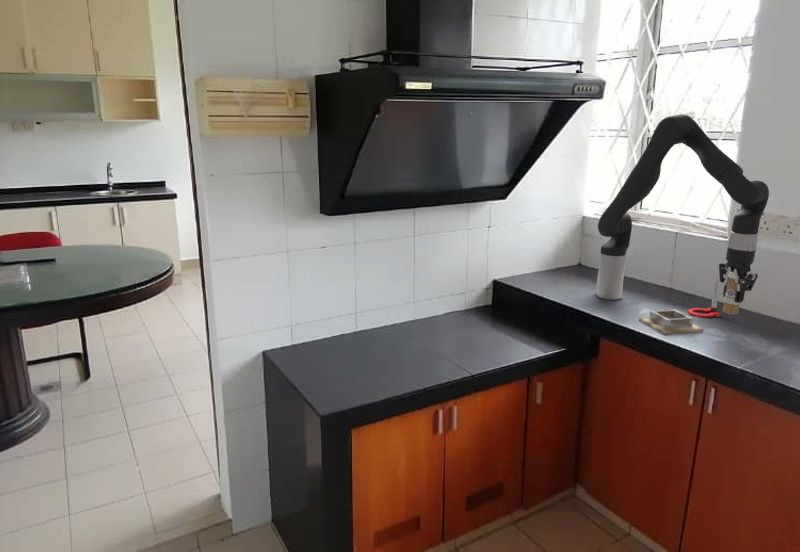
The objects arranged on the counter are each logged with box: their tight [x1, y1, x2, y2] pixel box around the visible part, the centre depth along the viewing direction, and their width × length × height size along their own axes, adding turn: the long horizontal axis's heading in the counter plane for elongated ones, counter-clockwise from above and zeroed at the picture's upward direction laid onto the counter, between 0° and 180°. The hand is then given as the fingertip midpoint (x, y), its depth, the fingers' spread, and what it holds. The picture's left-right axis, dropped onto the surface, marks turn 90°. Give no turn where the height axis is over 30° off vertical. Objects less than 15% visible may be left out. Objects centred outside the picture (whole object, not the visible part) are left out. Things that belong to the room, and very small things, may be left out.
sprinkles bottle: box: [721, 271, 745, 315], centre depth 180 cm, size 5×5×13 cm
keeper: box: [638, 308, 704, 336], centre depth 192 cm, size 14×14×4 cm
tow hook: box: [687, 278, 721, 318], centre depth 203 cm, size 8×13×9 cm
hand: (732, 299), depth 181 cm, fingers closed on sprinkles bottle, 4 cm apart
